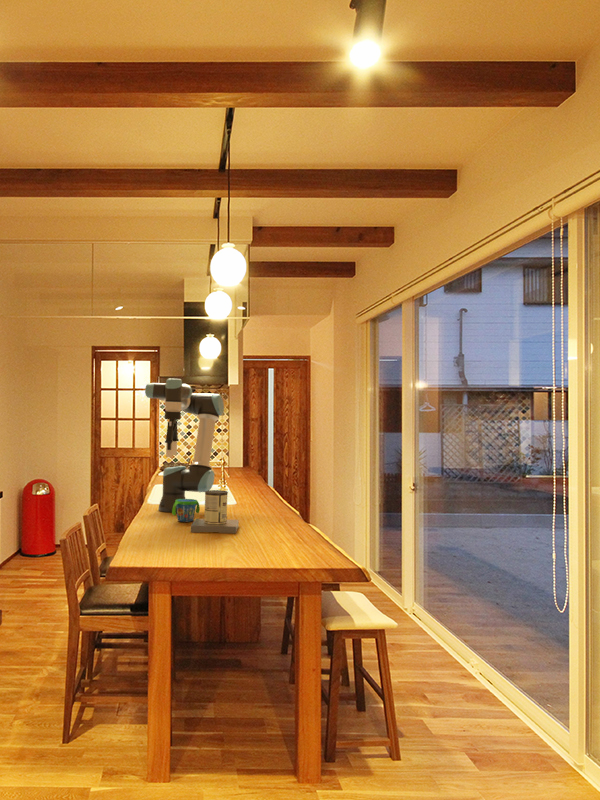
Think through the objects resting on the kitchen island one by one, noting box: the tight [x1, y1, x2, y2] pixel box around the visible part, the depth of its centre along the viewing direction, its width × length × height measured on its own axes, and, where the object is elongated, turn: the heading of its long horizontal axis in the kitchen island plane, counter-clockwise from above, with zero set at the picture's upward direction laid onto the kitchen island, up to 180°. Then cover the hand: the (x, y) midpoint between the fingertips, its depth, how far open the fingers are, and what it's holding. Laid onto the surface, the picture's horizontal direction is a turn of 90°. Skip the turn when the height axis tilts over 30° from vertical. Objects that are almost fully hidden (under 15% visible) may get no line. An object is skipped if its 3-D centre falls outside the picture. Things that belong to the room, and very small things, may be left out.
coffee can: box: [203, 489, 229, 524], centre depth 303 cm, size 10×10×14 cm
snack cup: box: [171, 498, 201, 523], centre depth 321 cm, size 16×10×10 cm
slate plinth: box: [190, 518, 240, 534], centre depth 303 cm, size 18×20×3 cm
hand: (171, 455), depth 315 cm, fingers open, 13 cm apart
